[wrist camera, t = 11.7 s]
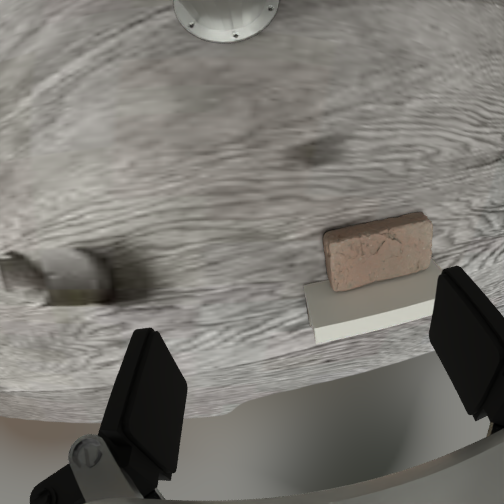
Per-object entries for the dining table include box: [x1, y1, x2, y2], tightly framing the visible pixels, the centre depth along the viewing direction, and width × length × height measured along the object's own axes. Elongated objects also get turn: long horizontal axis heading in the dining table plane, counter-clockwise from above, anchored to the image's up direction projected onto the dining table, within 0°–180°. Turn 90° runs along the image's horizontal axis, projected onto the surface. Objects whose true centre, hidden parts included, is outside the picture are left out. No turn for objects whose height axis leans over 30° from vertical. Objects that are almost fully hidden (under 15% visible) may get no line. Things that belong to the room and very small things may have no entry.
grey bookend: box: [303, 258, 443, 344], centre depth 46 cm, size 8×22×10 cm, turn 102°
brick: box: [323, 212, 433, 292], centre depth 44 cm, size 17×8×5 cm, turn 103°
